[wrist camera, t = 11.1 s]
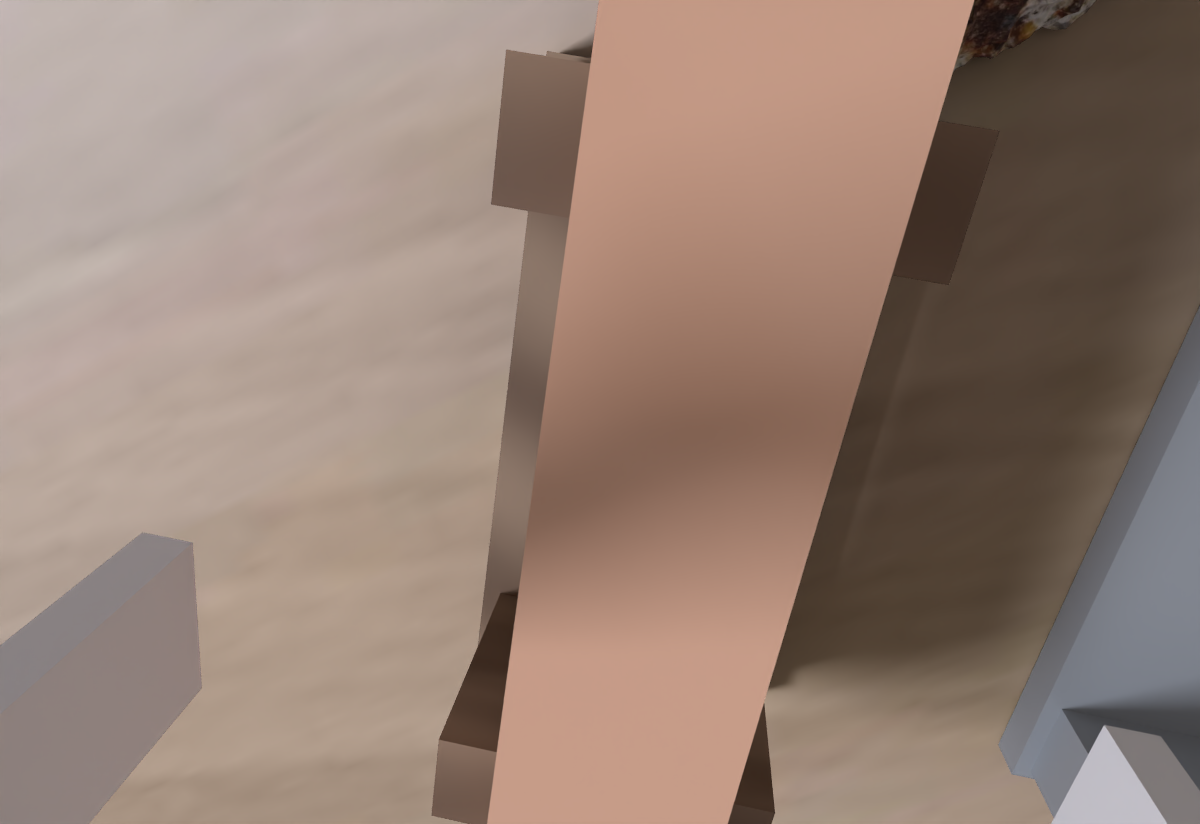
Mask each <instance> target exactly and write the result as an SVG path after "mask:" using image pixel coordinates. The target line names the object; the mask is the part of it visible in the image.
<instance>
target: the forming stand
mask: <svg viewBox="0 0 1200 824" xmlns="http://www.w3.org/2000/svg"><path fill="white" fill-rule="evenodd" d="M1104 725H1107V726H1112V727H1117V728H1122V729H1127V730H1132V731H1137V732H1142V733H1147V734H1152V735H1157V736H1161V737H1162V739H1163V740H1164V742H1165V743H1166V744H1167V746H1168V747H1169V749H1170V750H1171V751H1172V753H1173V754H1174V756H1175V757H1176V758H1177V760H1178V761H1179V762H1180V764H1181V765H1182V767H1183V768H1184V769H1185V771H1186V772H1187V774H1188V775H1189V776H1190V778H1191V779H1192V781H1193V782H1194V783H1195V785H1196V786H1197V788H1198V789H1199V790H1200V306H1199V309H1198V311H1197V313H1196V315H1195V317H1194V319H1193V322H1192V324H1191V326H1190V328H1189V330H1188V333H1187V335H1186V337H1185V339H1184V341H1183V343H1182V346H1181V348H1180V350H1179V352H1178V354H1177V356H1176V359H1175V361H1174V363H1173V365H1172V367H1171V370H1170V372H1169V374H1168V376H1167V378H1166V380H1165V383H1164V385H1163V387H1162V389H1161V391H1160V394H1159V396H1158V398H1157V400H1156V402H1155V404H1154V407H1153V409H1152V411H1151V413H1150V415H1149V418H1148V420H1147V422H1146V424H1145V426H1144V428H1143V431H1142V433H1141V435H1140V437H1139V439H1138V441H1137V444H1136V446H1135V448H1134V450H1133V452H1132V455H1131V457H1130V459H1129V461H1128V463H1127V465H1126V468H1125V470H1124V472H1123V474H1122V476H1121V479H1120V481H1119V483H1118V485H1117V487H1116V489H1115V492H1114V494H1113V496H1112V498H1111V500H1110V503H1109V505H1108V507H1107V509H1106V511H1105V513H1104V516H1103V518H1102V520H1101V522H1100V524H1099V526H1098V529H1097V531H1096V533H1095V535H1094V537H1093V540H1092V542H1091V544H1090V546H1089V548H1088V550H1087V553H1086V555H1085V557H1084V559H1083V561H1082V564H1081V566H1080V568H1079V570H1078V572H1077V574H1076V577H1075V579H1074V581H1073V583H1072V585H1071V588H1070V590H1069V592H1068V594H1067V596H1066V598H1065V601H1064V603H1063V605H1062V607H1061V609H1060V611H1059V614H1058V616H1057V618H1056V620H1055V622H1054V625H1053V627H1052V629H1051V631H1050V633H1049V635H1048V638H1047V640H1046V642H1045V644H1044V646H1043V649H1042V651H1041V653H1040V655H1039V657H1038V659H1037V662H1036V664H1035V666H1034V668H1033V670H1032V672H1031V675H1030V677H1029V679H1028V681H1027V683H1026V686H1025V688H1024V690H1023V692H1022V694H1021V696H1020V699H1019V701H1018V703H1017V705H1016V707H1015V710H1014V712H1013V714H1012V716H1011V718H1010V720H1009V723H1008V725H1007V727H1006V729H1005V731H1004V734H1003V736H1002V738H1001V740H1000V742H999V744H998V745H999V747H1000V750H1001V752H1002V754H1003V756H1004V758H1005V761H1006V763H1007V765H1008V767H1009V769H1010V771H1011V774H1013V775H1018V776H1023V777H1027V778H1032V779H1035V781H1036V783H1037V785H1038V787H1039V789H1040V791H1041V793H1042V795H1043V797H1044V799H1045V801H1046V803H1047V805H1048V807H1049V809H1050V811H1051V814H1052V816H1053V818H1055V816H1056V814H1057V812H1058V810H1059V808H1060V806H1061V805H1062V803H1063V801H1064V799H1065V797H1066V795H1067V793H1068V791H1069V790H1070V788H1071V786H1072V784H1073V782H1074V780H1075V778H1076V776H1077V775H1078V773H1079V771H1080V769H1081V767H1082V765H1083V763H1084V761H1085V760H1086V758H1087V756H1088V754H1089V752H1090V750H1091V748H1092V747H1093V745H1094V743H1095V741H1096V739H1097V737H1098V735H1099V733H1100V732H1101V730H1102V728H1103V726H1104Z"/></svg>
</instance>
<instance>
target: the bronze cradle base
mask: <svg viewBox="0 0 1200 824" xmlns="http://www.w3.org/2000/svg"><path fill="white" fill-rule="evenodd" d="M590 63H591V58H586V57H580V56H574V55H568V54H562V53H556V52H550V51H547V54H546V56H541V55H535V54H529V53H523V52H517V51H511V50H506V58H505V68H504V78H503V88H502V99H501V109H500V119H499V129H498V140H497V150H496V160H495V170H494V181H493V191H492V201H491V204H492V205H498V206H504V207H509V208H515V209H521V210H526V211H528V218H527V227H526V235H525V244H524V253H523V261H522V270H521V279H520V287H519V296H518V304H517V313H516V322H515V330H514V339H513V348H512V356H511V365H510V374H509V382H508V391H507V400H506V408H505V417H504V425H503V434H502V443H501V451H500V460H499V469H498V477H497V486H496V495H495V503H494V512H493V520H492V529H491V538H490V546H489V555H488V564H487V572H486V581H485V590H484V598H483V607H482V616H481V624H480V633H479V641H478V648H477V650H476V652H475V655H474V657H473V660H472V662H471V664H470V667H469V669H468V672H467V674H466V676H465V679H464V681H463V683H462V686H461V688H460V691H459V693H458V695H457V698H456V700H455V703H454V705H453V707H452V710H451V712H450V714H449V717H448V719H447V722H446V724H445V726H444V729H443V731H442V734H441V736H440V738H439V744H438V754H437V765H436V775H435V785H434V795H433V806H432V816H436V817H441V818H445V819H449V820H454V821H458V822H463V823H467V824H487V821H488V813H489V806H490V799H491V791H492V784H493V777H494V769H495V762H496V755H497V747H498V740H499V732H500V725H501V718H502V710H503V703H504V696H505V688H506V681H507V674H508V666H509V659H510V652H511V644H512V637H513V629H514V622H515V615H516V607H517V600H518V593H519V585H520V578H521V571H522V563H523V556H524V549H525V541H526V534H527V526H528V519H529V512H530V504H531V497H532V490H533V482H534V475H535V468H536V460H537V453H538V446H539V438H540V431H541V423H542V416H543V409H544V401H545V394H546V387H547V379H548V372H549V365H550V357H551V350H552V343H553V335H554V328H555V320H556V313H557V306H558V298H559V291H560V284H561V276H562V269H563V262H564V254H565V247H566V240H567V232H568V225H569V217H570V210H571V203H572V195H573V188H574V181H575V173H576V166H577V159H578V151H579V144H580V137H581V129H582V122H583V114H584V107H585V100H586V92H587V85H588V78H589V70H590ZM998 134H999V131H997V130H991V129H985V128H979V127H973V126H967V125H961V124H955V123H949V122H943V121H938V123H937V127H936V130H935V133H934V137H933V140H932V143H931V147H930V150H929V153H928V157H927V160H926V163H925V167H924V170H923V173H922V177H921V180H920V183H919V187H918V190H917V193H916V197H915V200H914V203H913V207H912V210H911V213H910V217H909V220H908V223H907V227H906V230H905V233H904V237H903V240H902V243H901V247H900V250H899V253H898V257H897V260H896V263H895V267H894V270H893V273H892V275H894V276H900V277H906V278H911V279H917V280H923V281H928V282H934V283H940V284H945V285H949V283H950V280H951V277H952V274H953V271H954V268H955V265H956V262H957V259H958V255H959V252H960V249H961V246H962V243H963V240H964V237H965V234H966V231H967V228H968V225H969V222H970V219H971V216H972V213H973V210H974V207H975V204H976V201H977V198H978V195H979V192H980V189H981V186H982V183H983V180H984V177H985V173H986V170H987V167H988V164H989V161H990V158H991V155H992V152H993V149H994V146H995V143H996V140H997V137H998ZM774 814H775V809H774V799H773V788H772V778H771V768H770V758H769V748H768V737H767V727H766V717H765V707H764V704H763V707H762V711H761V714H760V717H759V721H758V724H757V728H756V731H755V734H754V738H753V741H752V744H751V748H750V751H749V754H748V758H747V761H746V764H745V768H744V771H743V774H742V778H741V781H740V784H739V788H738V791H737V794H736V798H735V801H734V804H733V808H732V811H731V814H730V818H729V821H728V824H771V823H772V820H773V817H774Z"/></svg>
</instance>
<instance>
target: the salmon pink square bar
mask: <svg viewBox="0 0 1200 824" xmlns="http://www.w3.org/2000/svg"><path fill="white" fill-rule="evenodd" d="M973 3H974V0H599V4H598V11H597V19H596V26H595V34H594V41H593V48H592V56H591V63H590V70H589V78H588V85H587V92H586V100H585V107H584V114H583V122H582V129H581V137H580V144H579V151H578V159H577V166H576V173H575V181H574V188H573V195H572V203H571V210H570V217H569V225H568V232H567V240H566V247H565V254H564V262H563V269H562V276H561V284H560V291H559V298H558V306H557V313H556V320H555V328H554V335H553V343H552V350H551V357H550V365H549V372H548V379H547V387H546V394H545V401H544V409H543V416H542V423H541V431H540V438H539V446H538V453H537V460H536V468H535V475H534V482H533V490H532V497H531V504H530V512H529V519H528V526H527V534H526V541H525V549H524V556H523V563H522V571H521V578H520V585H519V593H518V600H517V607H516V615H515V622H514V629H513V637H512V644H511V652H510V659H509V666H508V674H507V681H506V688H505V696H504V703H503V710H502V718H501V725H500V732H499V740H498V747H497V755H496V762H495V769H494V777H493V784H492V791H491V799H490V806H489V813H488V821H487V824H728V821H729V818H730V814H731V811H732V808H733V804H734V801H735V798H736V794H737V791H738V788H739V784H740V781H741V778H742V774H743V771H744V768H745V764H746V761H747V758H748V754H749V751H750V748H751V744H752V741H753V738H754V734H755V731H756V728H757V724H758V721H759V717H760V714H761V711H762V707H763V704H764V701H765V697H766V694H767V691H768V687H769V684H770V681H771V677H772V674H773V671H774V667H775V664H776V661H777V657H778V654H779V651H780V647H781V644H782V641H783V637H784V634H785V631H786V627H787V624H788V621H789V617H790V614H791V611H792V607H793V604H794V601H795V597H796V594H797V591H798V587H799V584H800V581H801V577H802V574H803V571H804V567H805V564H806V561H807V557H808V554H809V551H810V547H811V544H812V541H813V537H814V534H815V531H816V527H817V524H818V521H819V517H820V514H821V510H822V507H823V504H824V500H825V497H826V494H827V490H828V487H829V484H830V480H831V477H832V474H833V470H834V467H835V464H836V460H837V457H838V454H839V450H840V447H841V444H842V440H843V437H844V434H845V430H846V427H847V424H848V420H849V417H850V414H851V410H852V407H853V404H854V400H855V397H856V394H857V390H858V387H859V384H860V380H861V377H862V374H863V370H864V367H865V364H866V360H867V357H868V354H869V350H870V347H871V344H872V340H873V337H874V334H875V330H876V327H877V324H878V320H879V317H880V313H881V310H882V307H883V303H884V300H885V297H886V293H887V290H888V287H889V283H890V280H891V277H892V273H893V270H894V267H895V263H896V260H897V257H898V253H899V250H900V247H901V243H902V240H903V237H904V233H905V230H906V227H907V223H908V220H909V217H910V213H911V210H912V207H913V203H914V200H915V197H916V193H917V190H918V187H919V183H920V180H921V177H922V173H923V170H924V167H925V163H926V160H927V157H928V153H929V150H930V147H931V143H932V140H933V137H934V133H935V130H936V127H937V123H938V120H939V117H940V113H941V110H942V106H943V103H944V100H945V96H946V93H947V90H948V86H949V83H950V80H951V76H952V73H953V70H954V66H955V63H956V60H957V56H958V53H959V50H960V46H961V43H962V40H963V36H964V33H965V30H966V26H967V23H968V20H969V16H970V13H971V10H972V6H973Z"/></svg>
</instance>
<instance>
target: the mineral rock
mask: <svg viewBox="0 0 1200 824" xmlns="http://www.w3.org/2000/svg"><path fill="white" fill-rule="evenodd" d="M1094 2H1096V0H974V3H973V6H972V10H971V13H970V16H969V20H968V23H967V26H966V30H965V33H964V36H963V40H962V43H961V46H960V50H959V53H958V56H957V60H956V63H955V66H954V70H953V72H954V71H955V69H956V68H958V67H961V66H964V65H965V64H966V63H967V62H968V61H969V60H970V59H971V58H974V57H987V58H989V59H991V58H993V57H994V56H998V54H999V53H1000V52H1001V51H1003V50H1004V49H1009V48H1014V47H1015V46H1017V45H1018V44H1020V43H1021V42H1023V41H1024V40H1026V39H1028V38H1029V37H1030V36H1031V35H1032V34H1033V32H1034V31H1036V30H1038V29H1040V28H1041V27H1045V28H1048V29H1052V30H1059V29H1066V28H1067V27H1068V26H1069V25H1070V24H1071V23H1073V22H1074V21H1075V20H1076V19H1078V18H1079V17H1080V16H1082V15H1083V14H1084V13H1085V12H1087V10H1088V9H1089V8H1090V7H1091V6H1092V4H1093V3H1094Z"/></svg>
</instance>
